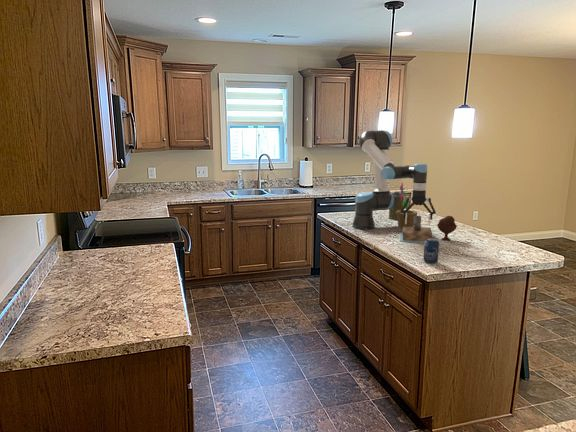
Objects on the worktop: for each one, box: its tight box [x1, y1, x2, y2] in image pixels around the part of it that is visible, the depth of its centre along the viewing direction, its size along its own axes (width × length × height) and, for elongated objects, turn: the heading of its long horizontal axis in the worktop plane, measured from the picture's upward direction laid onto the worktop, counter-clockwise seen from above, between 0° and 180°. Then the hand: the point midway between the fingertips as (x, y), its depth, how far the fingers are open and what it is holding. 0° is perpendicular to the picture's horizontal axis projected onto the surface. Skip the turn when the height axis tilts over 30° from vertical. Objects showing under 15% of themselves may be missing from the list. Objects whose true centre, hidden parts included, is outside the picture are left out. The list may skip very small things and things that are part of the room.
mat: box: [399, 232, 435, 244], centre depth 264 cm, size 20×20×1 cm
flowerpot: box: [396, 182, 418, 229], centre depth 292 cm, size 14×14×30 cm
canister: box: [388, 191, 405, 221], centre depth 319 cm, size 11×10×20 cm
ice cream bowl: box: [436, 215, 458, 242], centre depth 259 cm, size 11×11×15 cm
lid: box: [402, 215, 433, 241], centre depth 263 cm, size 17×17×13 cm
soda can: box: [423, 237, 440, 265], centre depth 216 cm, size 7×7×12 cm
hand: (417, 224), depth 262 cm, fingers open, 13 cm apart
